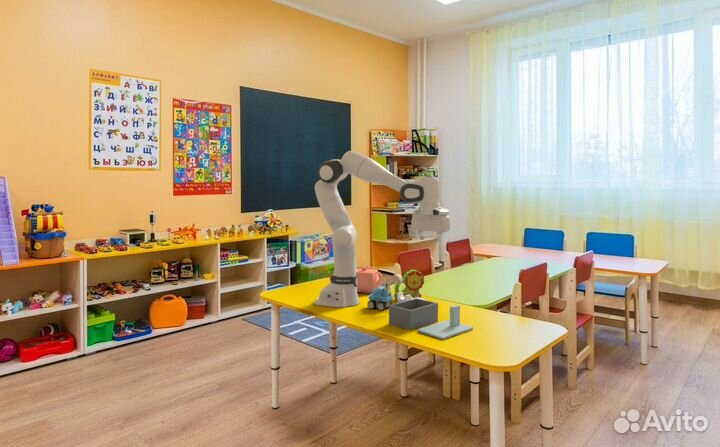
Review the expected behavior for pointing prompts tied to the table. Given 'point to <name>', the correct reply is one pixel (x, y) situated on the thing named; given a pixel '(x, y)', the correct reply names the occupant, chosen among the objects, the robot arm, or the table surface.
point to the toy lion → (411, 284)
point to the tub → (413, 313)
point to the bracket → (401, 297)
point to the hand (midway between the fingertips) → (429, 240)
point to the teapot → (367, 279)
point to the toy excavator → (383, 294)
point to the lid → (447, 326)
